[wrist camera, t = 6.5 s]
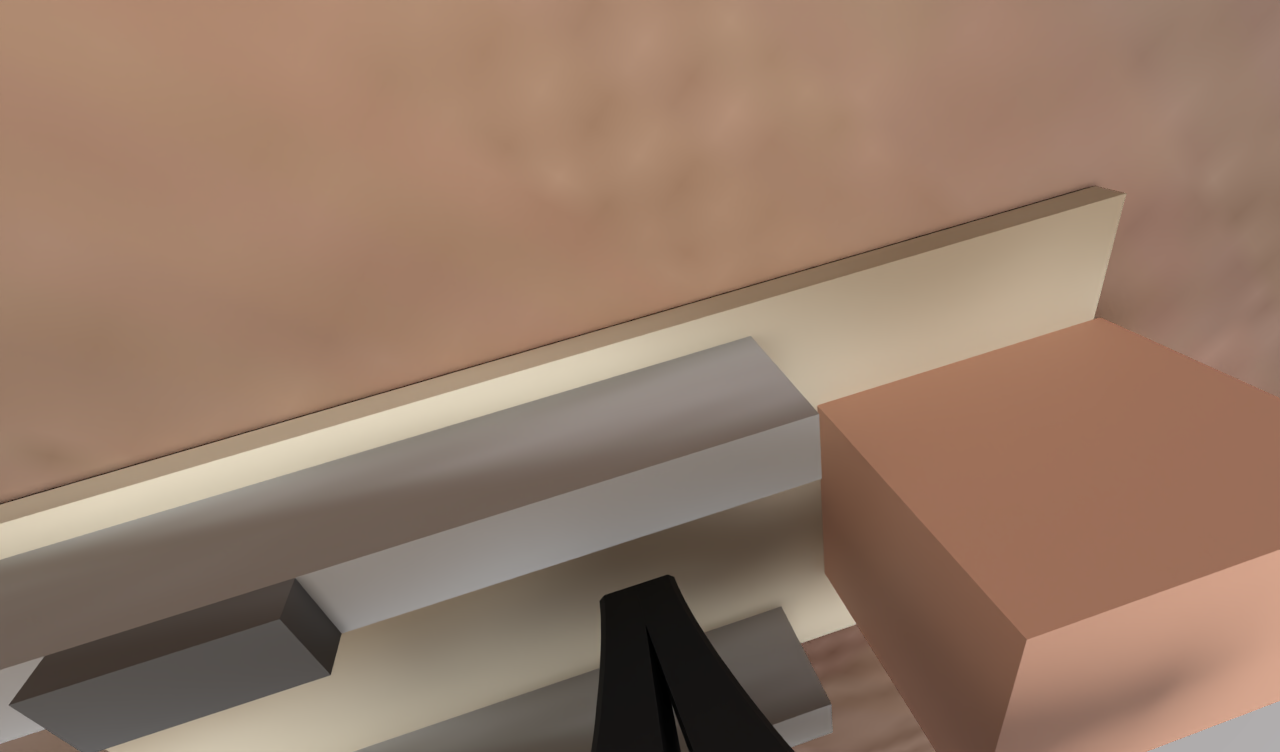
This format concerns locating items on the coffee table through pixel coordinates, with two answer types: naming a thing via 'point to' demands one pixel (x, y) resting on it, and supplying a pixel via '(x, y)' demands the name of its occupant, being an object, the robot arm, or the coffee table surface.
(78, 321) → the coffee table surface
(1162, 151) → the coffee table surface
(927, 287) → the chute
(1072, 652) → the block
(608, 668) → the robot arm
